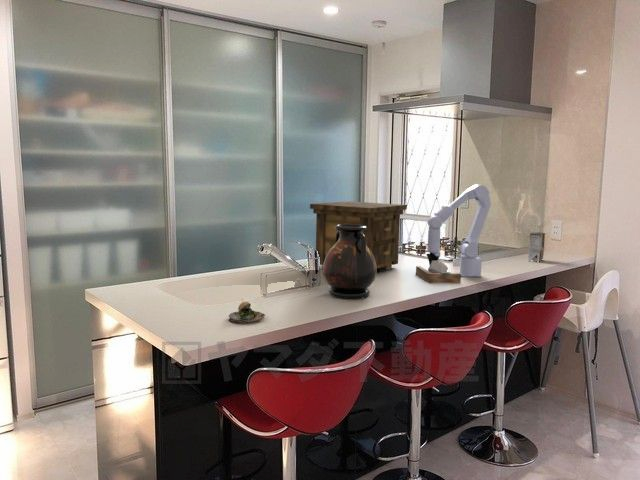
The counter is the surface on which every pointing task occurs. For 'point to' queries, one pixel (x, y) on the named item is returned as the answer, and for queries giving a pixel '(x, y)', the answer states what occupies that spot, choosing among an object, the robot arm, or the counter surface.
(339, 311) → the counter surface
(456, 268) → the counter surface
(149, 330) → the counter surface
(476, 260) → the robot arm
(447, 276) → the arena
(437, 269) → the grey rock
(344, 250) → the amphora vase
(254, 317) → the mossy rock
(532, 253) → the coffee box
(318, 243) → the crate
